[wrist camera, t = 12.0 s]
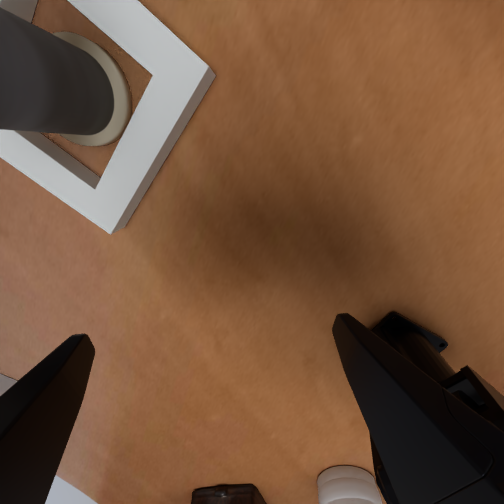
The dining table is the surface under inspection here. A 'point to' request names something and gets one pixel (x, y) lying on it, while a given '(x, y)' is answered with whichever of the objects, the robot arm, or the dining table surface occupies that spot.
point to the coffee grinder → (228, 495)
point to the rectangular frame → (139, 128)
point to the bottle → (347, 486)
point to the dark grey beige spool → (60, 85)
